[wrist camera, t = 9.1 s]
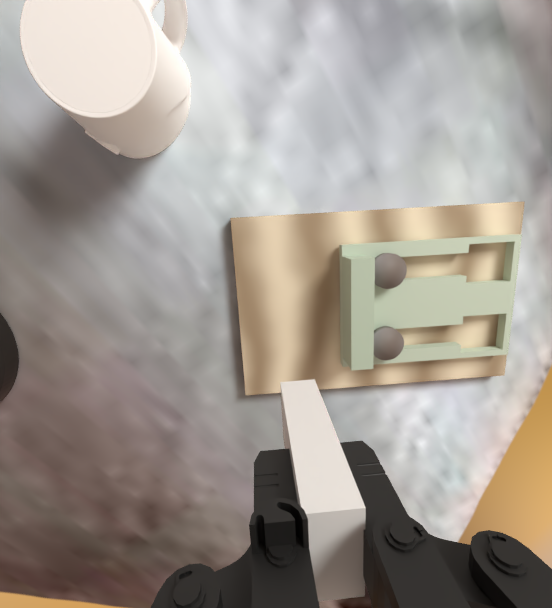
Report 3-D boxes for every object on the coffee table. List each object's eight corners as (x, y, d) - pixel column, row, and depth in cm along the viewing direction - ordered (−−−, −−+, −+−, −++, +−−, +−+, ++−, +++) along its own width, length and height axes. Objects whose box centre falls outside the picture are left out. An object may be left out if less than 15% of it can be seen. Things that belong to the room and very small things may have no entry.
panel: (340, 362, 33) (351, 380, 29) (339, 244, 30) (351, 247, 26) (500, 350, 34) (532, 366, 30) (513, 234, 31) (550, 235, 27)
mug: (107, 157, 20) (-13, 69, 19) (153, 179, 30) (75, 121, 28) (214, -19, 19) (90, -131, 17) (229, 62, 28) (149, -6, 26)
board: (246, 389, 35) (244, 408, 31) (231, 218, 31) (227, 217, 27) (496, 370, 36) (522, 386, 32) (514, 202, 32) (547, 199, 28)
